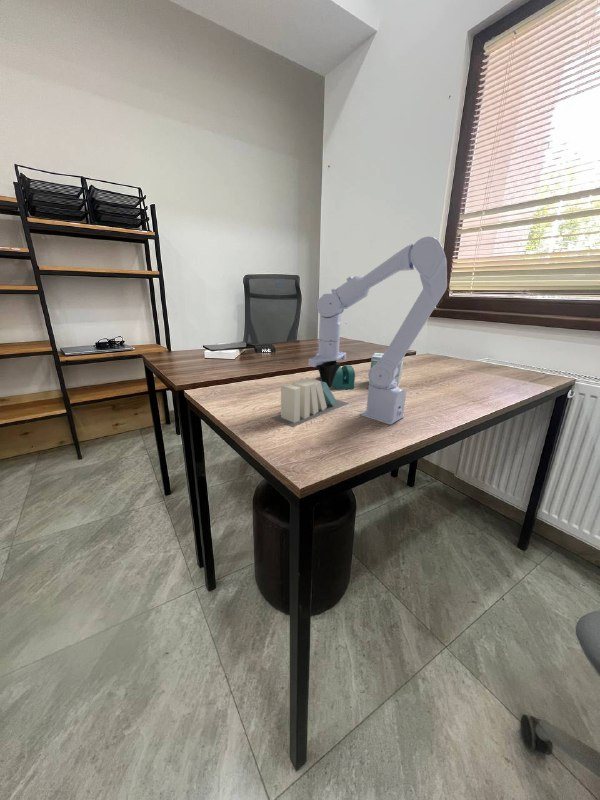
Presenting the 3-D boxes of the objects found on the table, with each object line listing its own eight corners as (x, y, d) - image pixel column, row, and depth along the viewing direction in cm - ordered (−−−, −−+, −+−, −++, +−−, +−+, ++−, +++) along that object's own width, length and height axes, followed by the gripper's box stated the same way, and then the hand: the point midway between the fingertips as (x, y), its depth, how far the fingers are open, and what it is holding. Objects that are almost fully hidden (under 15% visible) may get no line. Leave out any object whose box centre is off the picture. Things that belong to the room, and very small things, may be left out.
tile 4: (309, 416, 83) (310, 384, 80) (304, 418, 81) (305, 386, 78) (296, 411, 86) (296, 380, 83) (291, 413, 85) (291, 382, 81)
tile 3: (318, 411, 85) (315, 382, 81) (313, 414, 84) (310, 385, 80) (305, 406, 88) (301, 378, 84) (300, 409, 87) (296, 381, 83)
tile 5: (299, 420, 80) (300, 387, 77) (294, 422, 79) (294, 389, 76) (286, 415, 83) (286, 383, 80) (281, 417, 82) (280, 385, 79)
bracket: (353, 389, 107) (355, 367, 104) (336, 391, 105) (337, 369, 102) (332, 376, 123) (333, 356, 120) (317, 377, 121) (317, 357, 118)
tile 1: (336, 401, 91) (325, 382, 84) (333, 406, 90) (322, 388, 84) (323, 397, 94) (312, 378, 88) (320, 402, 93) (308, 384, 87)
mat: (348, 404, 93) (348, 403, 93) (292, 428, 76) (292, 427, 76) (328, 397, 98) (328, 396, 98) (271, 418, 82) (271, 417, 81)
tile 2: (326, 407, 87) (320, 381, 82) (322, 411, 86) (315, 385, 81) (313, 402, 91) (306, 377, 86) (309, 406, 90) (302, 381, 85)
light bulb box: (368, 384, 112) (371, 355, 109) (371, 380, 118) (374, 352, 114) (398, 388, 108) (402, 358, 105) (400, 383, 114) (404, 355, 110)
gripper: (334, 335, 92) (331, 379, 97) (300, 340, 82) (299, 388, 87) (353, 338, 88) (350, 384, 92) (320, 344, 78) (318, 394, 82)
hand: (326, 386), depth 89 cm, fingers closed
